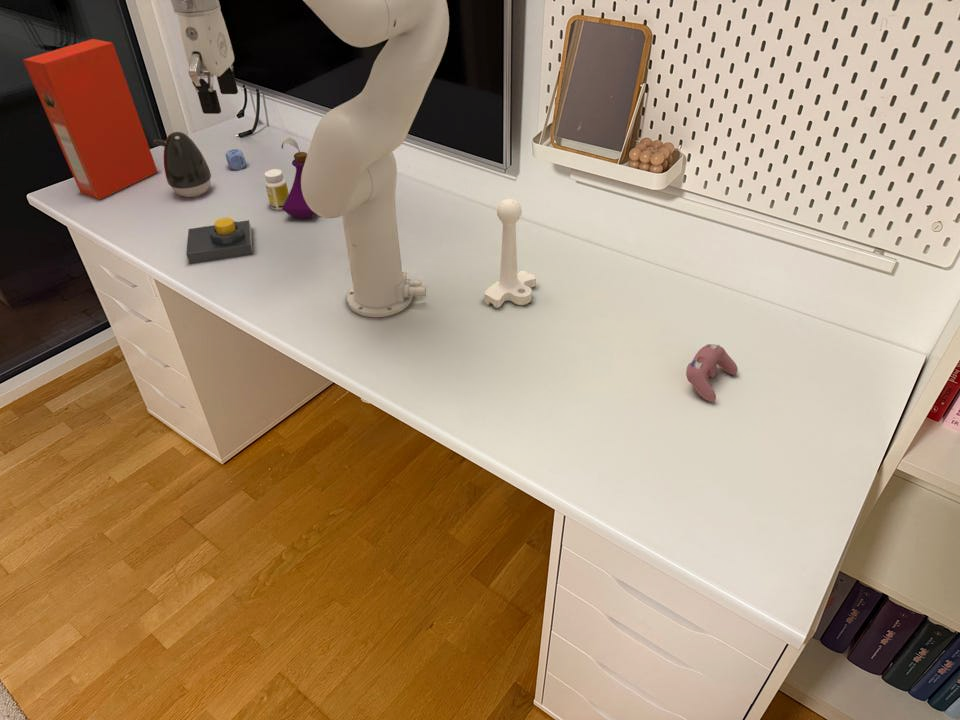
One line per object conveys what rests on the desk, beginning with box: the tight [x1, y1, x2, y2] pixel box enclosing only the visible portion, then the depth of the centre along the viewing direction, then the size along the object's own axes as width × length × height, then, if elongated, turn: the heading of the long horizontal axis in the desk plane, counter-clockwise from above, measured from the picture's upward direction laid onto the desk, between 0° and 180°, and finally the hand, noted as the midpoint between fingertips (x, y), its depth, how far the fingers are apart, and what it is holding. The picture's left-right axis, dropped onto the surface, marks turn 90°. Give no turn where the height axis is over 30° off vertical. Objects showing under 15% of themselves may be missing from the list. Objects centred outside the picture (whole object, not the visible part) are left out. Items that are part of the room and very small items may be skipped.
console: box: [185, 219, 254, 265], centre depth 150 cm, size 13×11×4 cm
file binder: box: [22, 38, 159, 201], centre depth 166 cm, size 8×17×32 cm, turn 149°
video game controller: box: [685, 343, 739, 403], centre depth 113 cm, size 10×5×7 cm, turn 141°
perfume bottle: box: [280, 137, 315, 220], centre depth 156 cm, size 8×8×18 cm
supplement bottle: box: [264, 168, 290, 211], centre depth 162 cm, size 5×5×8 cm
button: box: [213, 217, 236, 235], centre depth 147 cm, size 4×4×2 cm
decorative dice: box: [225, 148, 247, 171], centre depth 181 cm, size 4×4×4 cm
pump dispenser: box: [152, 131, 212, 198], centre depth 166 cm, size 10×10×15 cm
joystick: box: [484, 198, 537, 309], centre depth 128 cm, size 11×8×20 cm
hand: (221, 103), depth 127 cm, fingers open, 9 cm apart
